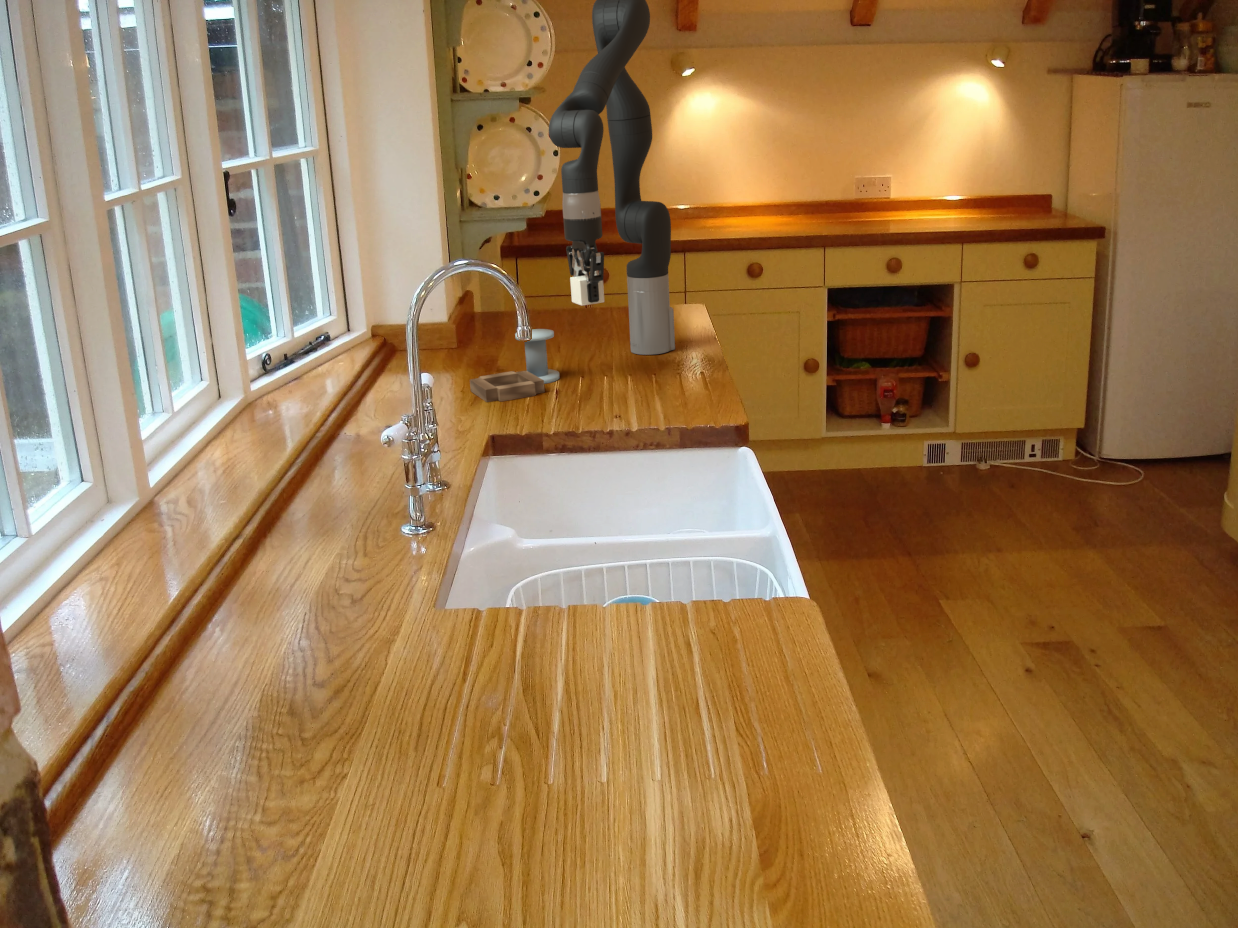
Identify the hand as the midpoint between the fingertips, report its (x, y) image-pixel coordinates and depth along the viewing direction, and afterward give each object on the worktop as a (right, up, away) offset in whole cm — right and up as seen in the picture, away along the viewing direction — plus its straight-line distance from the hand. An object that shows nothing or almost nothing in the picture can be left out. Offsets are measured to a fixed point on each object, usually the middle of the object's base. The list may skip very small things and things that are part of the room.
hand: (588, 299), depth 246 cm
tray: (-16, -19, 0) cm, 25 cm away
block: (0, -1, 0) cm, 0 cm away
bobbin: (-11, -16, +9) cm, 21 cm away
